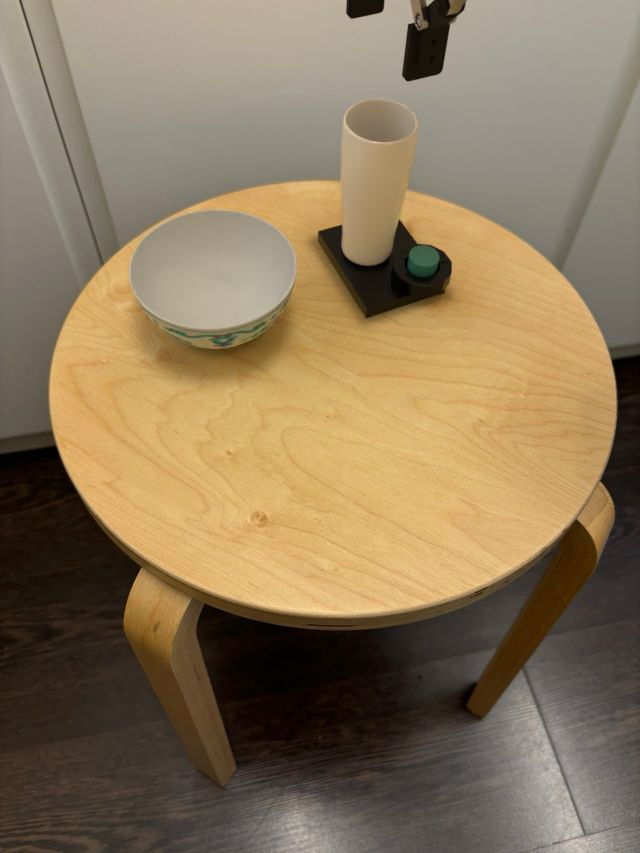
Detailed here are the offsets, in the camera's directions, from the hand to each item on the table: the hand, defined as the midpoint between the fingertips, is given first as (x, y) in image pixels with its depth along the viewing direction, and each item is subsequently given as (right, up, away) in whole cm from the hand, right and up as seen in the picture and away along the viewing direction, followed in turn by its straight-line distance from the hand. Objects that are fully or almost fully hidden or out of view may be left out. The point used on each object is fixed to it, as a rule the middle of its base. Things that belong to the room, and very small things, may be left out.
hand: (392, 43), depth 55 cm
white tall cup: (-1, -12, +18) cm, 22 cm away
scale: (+1, -13, +19) cm, 23 cm away
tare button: (+5, -14, +15) cm, 21 cm away
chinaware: (-15, -20, +14) cm, 29 cm away
